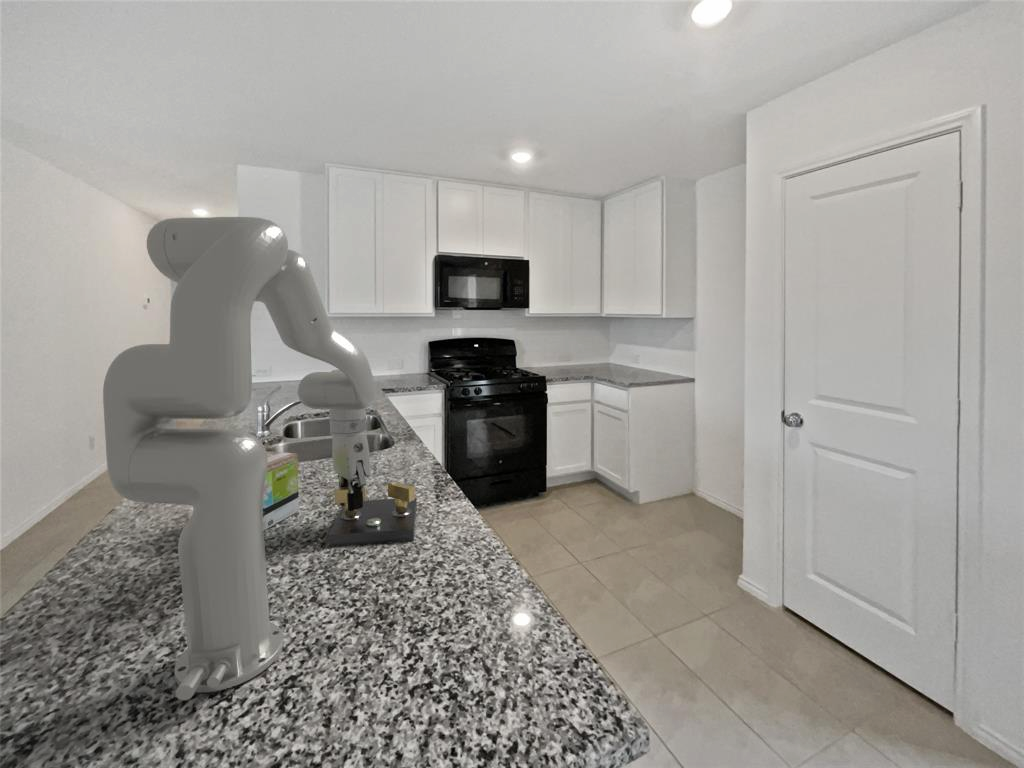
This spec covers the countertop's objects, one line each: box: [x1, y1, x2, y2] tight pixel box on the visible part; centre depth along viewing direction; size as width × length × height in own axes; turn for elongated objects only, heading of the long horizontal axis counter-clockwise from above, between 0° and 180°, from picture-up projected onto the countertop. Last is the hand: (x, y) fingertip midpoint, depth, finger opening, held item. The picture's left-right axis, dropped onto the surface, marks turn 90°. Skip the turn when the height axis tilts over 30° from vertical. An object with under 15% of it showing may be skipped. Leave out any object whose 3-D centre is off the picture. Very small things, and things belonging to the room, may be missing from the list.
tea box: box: [263, 450, 300, 531], centre depth 105 cm, size 15×10×15 cm
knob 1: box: [333, 485, 367, 516], centre depth 102 cm, size 3×6×6 cm, turn 105°
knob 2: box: [387, 481, 416, 513], centre depth 104 cm, size 3×6×6 cm, turn 60°
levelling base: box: [327, 497, 418, 547], centre depth 104 cm, size 18×17×3 cm
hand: (351, 505), depth 103 cm, fingers closed on knob 1, 3 cm apart
